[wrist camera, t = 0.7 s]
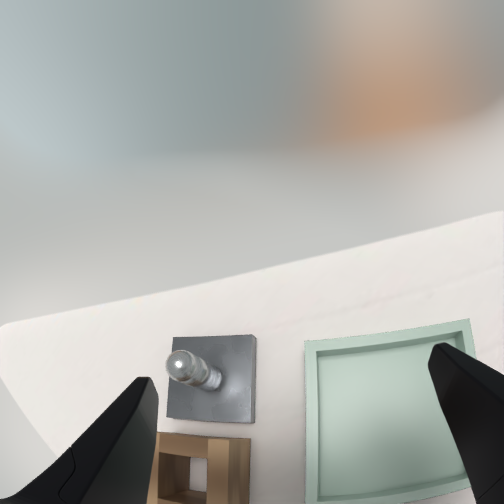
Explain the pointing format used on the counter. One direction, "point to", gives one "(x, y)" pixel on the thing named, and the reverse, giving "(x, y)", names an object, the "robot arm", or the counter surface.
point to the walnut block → (218, 469)
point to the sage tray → (380, 418)
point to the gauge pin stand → (212, 378)
